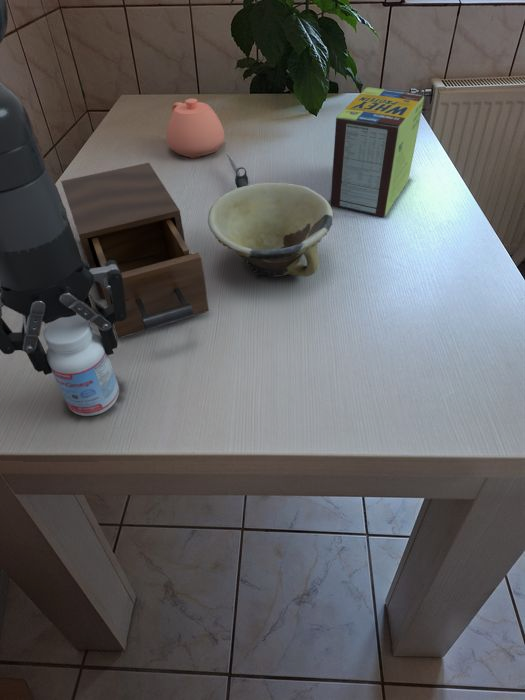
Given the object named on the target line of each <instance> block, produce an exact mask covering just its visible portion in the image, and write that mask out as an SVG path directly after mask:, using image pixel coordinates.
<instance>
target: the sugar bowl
mask: <svg viewBox="0 0 525 700" xmlns="http://www.w3.org/2000/svg"><path fill="white" fill-rule="evenodd" d="M184 101H185V102H184V103H183V102H180V101H177V102H174V103H173V105H172V107H171V110H172V111H171V112H172V113H171V115H170V117H169V121H168V123H167V127H166V143H167V144H168V146H169V147H170V149H172V150H173V151H174V152H175V153H176V154H178V155H180V156H184V157H189V158H190V159H195V160H196V159H198V158H199V157H202V156H207V155H210V154H213V153H215V152H217V151H218V150H219V149H220V147H222V145H223V143H224V142H225V138H226V137H225V131H224V127H223V124H222V122H221V119H220V118H219V116H218V115H217V113H216V112H215V111H214V110H213V108H212V107H211V106H210V105H209V104H207V103H206V102H201V101H198V99H196V98H187V99H185V100H184Z"/></svg>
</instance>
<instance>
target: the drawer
mask: <svg viewBox="0 0 525 700" xmlns="http://www.w3.org/2000/svg"><path fill="white" fill-rule="evenodd" d="M91 241H92V244H93V248H94V251H95V254H96V257H97V260H98V263H99V266H100V267H105V264H106V262H107V261H109V260H114V261H115V262H116V263H117V265H118V267H119V270H120V272H121V275H122V279H123V287H124V295H125V304H126V312H127V318H126V319H125V320H123V321H116V322H115V323H114V324H113V327H114V328H113V329H114V330H115V331H114V332H115V333H116V338H117V339H121V338H123V337H127V336H130V335H134V334H137V333H140V332H144V331H146V330H150V329H154V328H158V327H160V326H163V325H168V324H170V323H173V322H174V323H175V322H177V321H180V320H183V319H187V318H190V317H194V316H196V315H200V314H204V313H208V312H209V309H210V308H209V303H208V294H207V288H206V281H205V275H204V266H203V260H202V256H201V254H200V252H199V251H198V252H194V253H191V252H190V249H189V247H188V246H187V244H186V241H185V242H184V241H183V239H182V237H181V236H180V234H179V232H178V231H177V229H176V227H175V226H174V224H173V222H172V221H171V219H170V218H169V219H165V220H161V221H157V222H153V223H149V224H144V225H140V226H136V227H132V228H128V229H124V230H120V231H116V232H111V233H107V234H103V235H99V236H95V237H91ZM100 285H101V284H100ZM101 288H102V291H103V294H104V300H105V303H106V307H107V306H109V305H111V304H110V297H109V290H107V289H104V288H103V287H102V286H101Z"/></svg>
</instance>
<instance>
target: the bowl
mask: <svg viewBox="0 0 525 700" xmlns="http://www.w3.org/2000/svg"><path fill="white" fill-rule="evenodd" d="M333 219H334V212H333V209H332V205H330V202H328V201H327V200H326V198H325V197H324V196H323V195H321V194H320V193H318V192H316V191H314V190H313V189H311V188H309V187H306V186H303V185H299V184H297V183H296V184H295V183H284V182H261V183H254V184H248V186H244V187H240V188H237V187H236V188H234V189H232V190H229V191H228V192H226V193H223V195H221V196H220V197H218V198H217V199H216V200H215V201H214V203H213V204H212V205H211V206H210V208H209V211H208V216H207V224H208V227H209V230H210V232H211V233H212V234H213V236H214V238H215V239H216V240H217V242H218V243H219V244H221V245H222V246H224V247H226V248H227V249H229V250H232V251H234V252H235V253H236V254H237V255H238V256H240V257H241V258H242V259H244V260H245V261H246V262H247V265H248V267H249V268H250V269H251V271H252V272H254V273H256V274H258V275H262V276H265V277H271V278H272V277H283V276H286V275H292V276H296V277H310V276H313V275H314V274H315V273H316V272H317V270H318V268H319V265H320V259H319V258H320V257H319V252H318V244H319V243H321V241H322V240H323V238H324V237H325V236H326V235H327V234H328V232H329V231H330V229H331V227H332V225H333ZM303 256H304V258H305V260H306V264H303V263H301V260H302V258H303Z"/></svg>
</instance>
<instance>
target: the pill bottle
mask: <svg viewBox="0 0 525 700" xmlns="http://www.w3.org/2000/svg"><path fill="white" fill-rule="evenodd" d="M76 314H77V313H76ZM42 335H43V338H44V340H45V343H46V346H47V349H46V351H45V352H46V358H47V362H48V364H49V366H50V368H51V371H52V373H51V374H52V375H53V377H54V379H55V382H56V383H57V385H58V388H59V390H60V392H61V394H62V396H63V398H64V400H65V402H66V404H67V406H68V408H69V409H70V411H71V412H73V413H74V414H76V415H77V416H78V415H79V416H82V417H92V416H98V415H101V414H103V413H104V412H106V411H108V410H109V409H111V407H113V405H114V404H115V403H116V401H117V399H118V397H119V394H120V385H119V383H118V380H117V377H116V375H115V372H114V369H113V366H112V362H111V360H110V356H109V355H107V352H106V349H105V346H104V344H103V341H102V338H101V335H100V334H98V333H97V332H96V331H94V330H93V327H92V325H91V323H90V322H88V321H86V320H85V319H84V318H82V317H81V316H80V315H79V314H77V315H74V316H71V317H63V318H59V319H57V320H55V321H53V322H50V323H47V324H46V326H45V327H44V329H43V334H42Z"/></svg>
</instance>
